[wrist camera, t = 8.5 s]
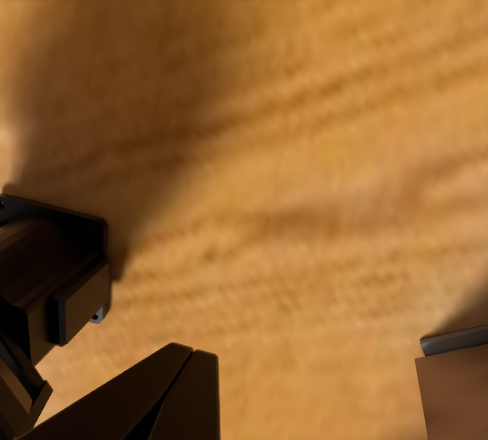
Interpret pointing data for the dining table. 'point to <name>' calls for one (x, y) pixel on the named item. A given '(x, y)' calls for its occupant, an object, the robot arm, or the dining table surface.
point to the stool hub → (455, 385)
